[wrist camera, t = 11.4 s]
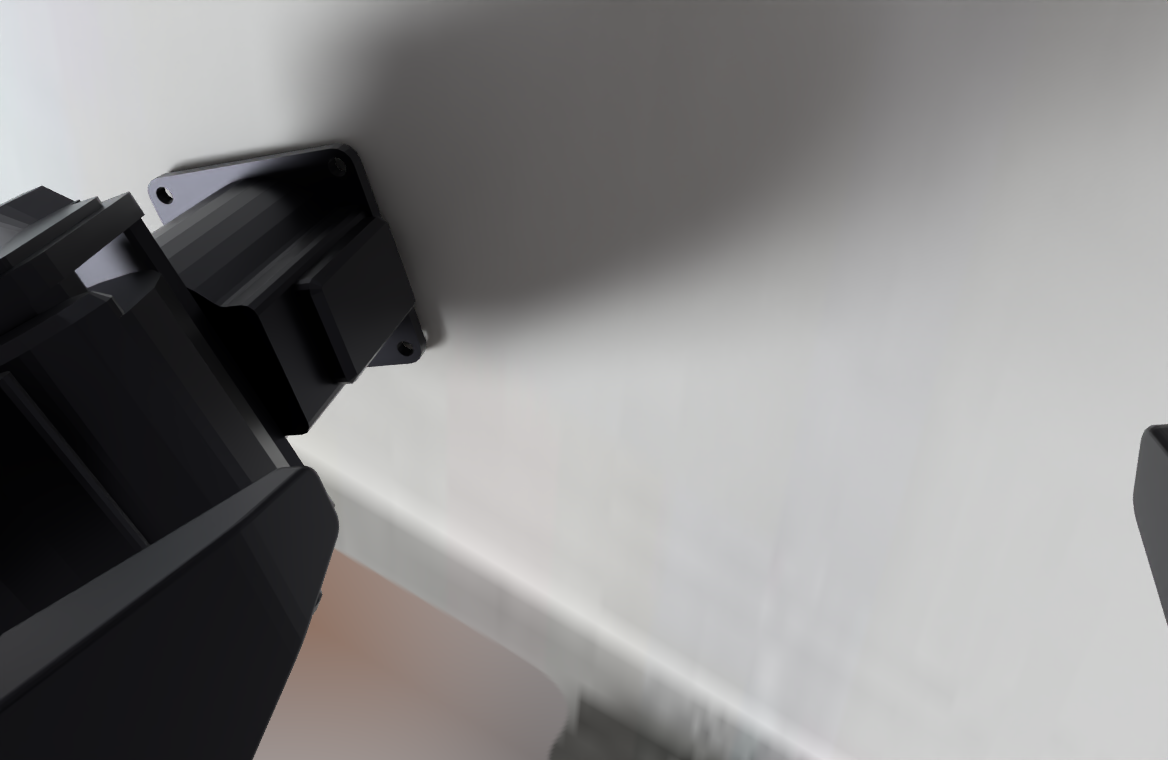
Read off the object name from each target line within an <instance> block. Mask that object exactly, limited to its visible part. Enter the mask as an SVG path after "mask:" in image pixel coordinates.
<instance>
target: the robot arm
mask: <svg viewBox="0 0 1168 760" xmlns="http://www.w3.org/2000/svg"><path fill="white" fill-rule="evenodd" d="M335 158H339V159H340V160H342V161H343V162H344V164H345V165H346V171H342V170H340V169H339V168H338V167H337V165H336V164H335ZM165 188H166V189H168V190H169V191H170V192H171V194H172V196H173V198H171V197H170V196H168V194H167V193H166V191H165ZM148 193H149V197H150V199H151V201H152V203H153V205H154V207H155V209H156V211H157V213H158V215H159V217H160V219H161V221H162V223H163V225H164V226H162V227H160V228H159V229H157V230H156V231H154V232H153V233H150V231H149V230H148V228H147V227H146V225H145V224H144V222H143V221H142V219H141V217H142V216H144V215H145V214H144V213H143V211H142V210H141V208H140V207H139V205H138V204H137V202H136V201H135V199H134V198H133V196H132V195H131V193H130V192H126V193H124V194H121V195H118V196H116V197H113V198H111V199H108V200H106V201H103V202H101V201H100V199H99V198H98V197H97V196H96V197H93V198H90V199H87V200H84V201H80V200H77V201H73V200H71V199H69V198H67V197H65V196H63V195H60V194H58V193H56V192H54V191H52V190H50V189H48V188H46V187H44V186H40V187H38V188H35V189H33V190H30V191H28V192H26V193H23V194H21V195H19V196H17V197H15V198H13V199H11V200H9V201H7V202H5V203H3V204H1V205H0V760H253V757H254V755H255V753H256V750H257V748H258V746H259V743H260V741H261V739H262V736H263V734H264V732H265V730H266V728H267V725H268V723H269V721H270V718H271V716H272V714H273V711H274V709H275V707H276V705H277V702H278V700H279V698H280V695H281V693H282V691H283V689H284V686H285V684H286V682H287V679H288V677H289V675H290V673H291V670H292V668H293V666H294V663H295V661H296V659H297V656H298V654H299V651H300V649H301V646H302V644H303V641H304V638H305V635H306V633H307V630H308V627H309V624H310V621H311V618H312V615H313V614H314V612H315V611H316V609H317V607H318V604H319V602H320V599H321V597H322V591H321V587H322V584H323V581H324V577H325V574H326V571H327V568H328V565H329V562H330V559H331V556H332V552H333V550H334V546H335V543H336V540H337V537H338V532H339V520H338V516H337V513H336V511H335V509H334V507H335V504H334V503H333V501H332V500H331V498H330V496H329V495H328V493H327V492H326V490H325V488H324V486H323V484H322V482H321V480H320V477H319V475H318V474H317V472H316V471H315V470H314V469H312V468H311V467H308V466H304V465H303V463H302V462H301V460H300V459H299V457H298V456H297V454H296V453H295V451H294V450H293V448H292V447H291V445H290V444H289V442H288V441H287V439H286V438H287V437H288V435H302V434H305V433H307V432H308V431H309V430H310V428H311V427H312V426H313V425H314V423H315V422H316V421H317V420H318V418H319V417H320V416H321V415H322V413H323V412H324V411H325V409H326V408H327V407H328V406H329V404H330V403H331V402H332V401H333V399H334V398H335V397H336V396H337V394H338V393H339V392H340V391H341V389H342V388H343V387H344V385H345V384H349V383H353V382H355V381H356V380H357V379H358V377H359V376H360V375H361V374H362V372H363V371H364V370H365V368H366V367H374V366H385V365H397V364H409V363H413V362H416V361H417V360H419V359H420V357H421V356H422V355H423V353H424V352H425V349H426V340H425V337H424V334H423V332H422V329H421V326H420V323H419V321H418V318H417V315H416V312H415V309H414V307H413V305H414V304H415V298H414V295H413V292H412V289H411V286H410V284H409V281H408V278H407V275H406V272H405V270H404V267H403V264H402V261H401V258H400V256H399V253H398V250H397V247H396V244H395V241H394V239H393V236H392V233H391V230H390V227H389V225H388V223H387V222H386V221H385V220H384V219H383V218H382V217H381V215H380V212H379V209H378V206H377V204H376V201H375V198H374V195H373V192H372V190H371V187H370V184H369V181H368V179H367V176H366V173H365V170H364V167H363V165H362V162H361V159H360V157H359V156H358V154H357V152H356V151H355V150H354V149H353V148H351V147H350V146H348V145H345V144H331V145H326V146H320V147H314V148H308V149H303V150H297V151H291V152H285V153H280V154H274V155H268V156H262V157H257V158H251V159H245V160H240V161H234V162H228V163H222V164H217V165H211V166H205V167H199V168H194V169H188V170H182V171H176V172H171V173H165V174H163V175H161V176H159V177H157V178H155V179H153V180H152V181H151V182H150V183H149V185H148ZM402 341H405V342H408V343H410V344H411V345H412V347H413V349H409V348H407V347H405V346H404V344H403V342H402ZM1133 505H1134V512H1135V517H1136V521H1137V524H1138V528H1139V531H1140V535H1141V538H1142V541H1143V545H1144V548H1145V551H1146V555H1147V558H1148V561H1149V565H1150V568H1151V571H1152V575H1153V578H1154V582H1155V585H1156V588H1157V592H1158V595H1159V598H1160V602H1161V605H1162V608H1163V612H1164V615H1165V618H1166V622H1167V625H1168V424H1162V425H1151V426H1150V427H1148V428H1147V429H1146V430H1145V431H1144V433H1143V435H1142V438H1141V443H1140V450H1139V457H1138V464H1137V471H1136V478H1135V484H1134V492H1133Z"/></svg>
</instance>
